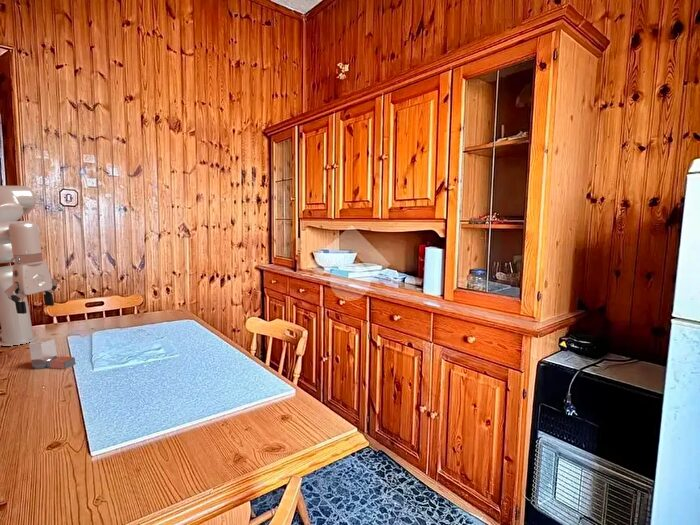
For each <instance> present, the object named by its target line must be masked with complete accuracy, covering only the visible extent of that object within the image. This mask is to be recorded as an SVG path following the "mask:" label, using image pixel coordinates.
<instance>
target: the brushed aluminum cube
mask: <svg viewBox="0 0 700 525" xmlns="http://www.w3.org/2000/svg"><path fill="white" fill-rule="evenodd" d="M28 348H29V353H30V358H31V359H30V361H31V360H38V361H44V360H47V359H49V358H51V357H54V356H56V355H57V356H58V353H57V346H56V341H55V338H49V337H48V338H46V337H44V338H43V337H42V338H38V339H37V340H35V341H33V342H30V343H28Z"/></svg>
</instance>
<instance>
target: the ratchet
mask: <svg viewBox="0 0 700 525" xmlns="http://www.w3.org/2000/svg"><path fill="white" fill-rule="evenodd" d="M30 362H31V368H32V369H33V370H43V369H53V370H54V369H55V370H56V369H57V370H66V369H68V368H71V367H74V366H76V364H77V363H76V358H75V356H61V355H60V356H58V354H57V355H56V356H54V357H51V358H49V359H47V360H44V361H38V360H31V359H30Z"/></svg>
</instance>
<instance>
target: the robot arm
mask: <svg viewBox="0 0 700 525" xmlns="http://www.w3.org/2000/svg"><path fill="white" fill-rule="evenodd" d="M36 202H37V197H36V193H35V192H34V190H33V189H32V188H31V187H29V186H27V185H0V264H8V263H14V264H13V265H5V266H0V327H1V332H0V338H1V341H0V345H3V346H11V347H14V346H13V345H18V346H21V345H20V344H23V345H26V343H27V344H29V342H30V343H31V342H34V341H36V340H39V336H38V334H34V332H33V327H32V320H31V319H32V318H31V314H30V307H29V301H28V298H27V295H28V296H29V295H30V296H31V295H35V294H39V293H44V294H43V300H44V301H43V302H44V306H46V307H54V305H55V302H54V294H55V291H56V288H57V284H58V280H57V279H55V278H52V277H51V272H50V269H49V266H48V264H47V262H46V261H45V260H44V259H43V251H42V245H41V240H40V239H41V238H40V237H41V230H40V226H39V225H38V224H37V222H34V221H32V220H20V219H21V218H22V217H23V216H26V215H29V214H30V213H31V212H32V210H33V209H34V208H35V206H36V204H37V203H36Z"/></svg>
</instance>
